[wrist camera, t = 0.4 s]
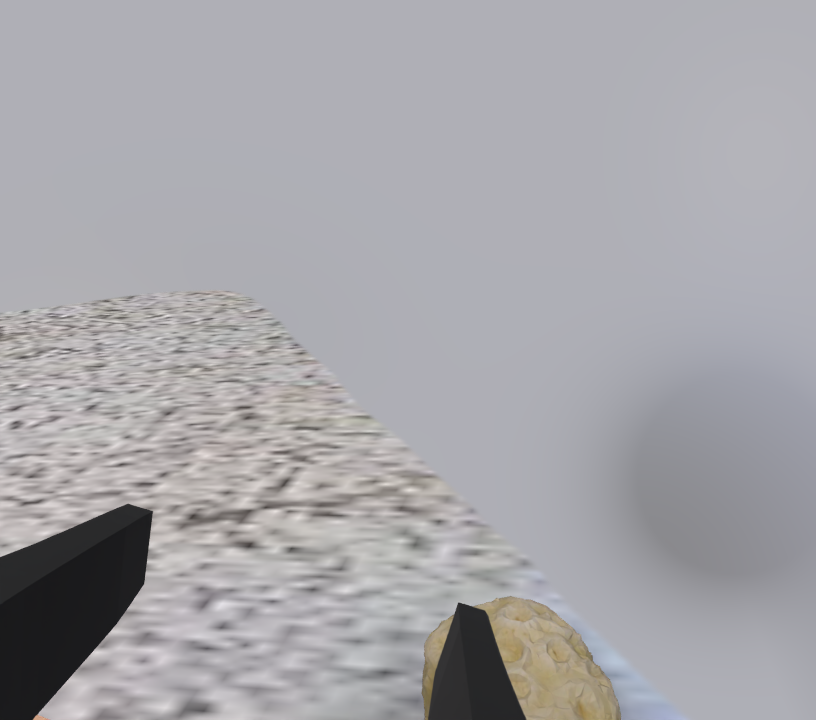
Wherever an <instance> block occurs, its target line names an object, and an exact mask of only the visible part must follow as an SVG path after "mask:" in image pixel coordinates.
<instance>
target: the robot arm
mask: <svg viewBox="0 0 816 720" xmlns="http://www.w3.org/2000/svg"><path fill="white" fill-rule="evenodd" d="M152 514H153V511H150V510H147V509H143V508H140V507H137V506H133V505H130V504H126V505H124V506H121V507H119V508H116V509H114V510H112V511H109V512H107V513H105V514H102V515H100V516H98V517H96V518H93V519H91V520H89V521H87V522H84V523H82V524H80V525H77V526H75V527H73V528H71V529H68V530H66V531H64V532H61V533H59V534H57V535H54V536H52V537H50V538H47V539H45V540H43V541H40V542H38V543H36V544H33V545H31V546H28V547H25V548H23V549H20V550H18V551H15V552H12V553H10V554H7V555H5V556H2V557H0V720H33V719H34V718H35V716H36V715H37V714H38V713H39V712H40V711H41V710H42V708H43V707H44V706H45V705H46V704H47V703H48V702H49V701H50V699H51V698H52V697H53V696H54V695H55V694H56V693H57V691H58V690H59V689H60V688H61V687H62V686H63V685H64V684H65V682H66V681H67V680H68V679H69V678H70V677H71V676H72V674H73V673H74V672H75V671H76V670H77V669H78V668H79V667H80V665H81V664H82V663H83V662H84V661H85V660H86V659H87V657H88V656H89V655H90V654H91V653H92V652H93V651H94V649H95V648H96V647H97V646H98V645H99V644H100V643H101V641H102V640H103V639H104V638H105V637H106V636H107V635H108V633H109V632H110V631H111V630H112V629H113V627H114V626H115V625H116V624H117V622H118V621H119V620H120V618H121V617H122V615H123V614H124V613H125V611H126V610H127V608H128V607H129V606H130V604H131V603H132V601H133V600H134V598H135V597H136V595H137V594H138V592H139V591H140V589H141V588H142V586H143V585H144V581H145V572H146V564H147V556H148V547H149V539H150V530H151V522H152ZM428 720H527V719H526V717H525V715H524V713H523V710H522V708H521V706H520V703H519V701H518V698H517V696H516V693H515V691H514V688H513V686H512V684H511V681H510V679H509V676H508V673H507V671H506V668H505V665H504V663H503V660H502V657H501V654H500V651H499V648H498V645H497V642H496V639H495V636H494V633H493V630H492V627H491V623H490V620H489V616H488V615H487V613H486V611H485V610H482V609H479V608H475V607H472V606H469V605H465V604H462V603H459V602H458V605H457V608H456V611H455V614H454V617H453V620H452V623H451V626H450V629H449V632H448V635H447V638H446V641H445V644H444V647H443V650H442V653H441V656H440V659H439V662H438V665H437V668H436V671H435V675H434V681H433V688H432V694H431V701H430V708H429V715H428Z"/></svg>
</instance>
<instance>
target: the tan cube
mask: <svg viewBox="0 0 816 720" xmlns="http://www.w3.org/2000/svg"><path fill="white" fill-rule="evenodd" d="M33 720H49V719H46V718H44V717H41V716H39V715H36V716H35V718H34V719H33Z"/></svg>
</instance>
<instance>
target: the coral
mask: <svg viewBox="0 0 816 720" xmlns="http://www.w3.org/2000/svg"><path fill="white" fill-rule="evenodd" d="M473 607H475V608H479V609H482V610H485V611H486V613H487V615H488V616H489V620H490V623H491V627H492V630H493V633H494V636H495V639H496V642H497V645H498V648H499V651H500V654H501V657H502V660H503V663H504V665H505V668H506V671H507V673H508V676H509V679H510V681H511V684H512V686H513V688H514V691H515V693H516V696H517V698H518V701H519V703H520V706H521V708H522V710H523V713H524V715H525V717H526V719H527V720H621V713H620V708H619V704H618V700H617V698H616V697H615V695H614V691H613V688H612V684H611V682H610V679H609V678H607V676H606V675H605V674H604V672H603V671H602V670H601V668H600V666H598V665H596V664H595V663H594V662H593V658H592V655H591V653H590V652H589V651H588V647H587V646H586V645H585V643H584V642H583V641H582V638H581V635H580V634H578V633H576V631H575V630H574V629H573V628H572V627H571V626H570V625H569V624H567V623H566V622H565V621H564V620H562V619H561V618H560V617H559V616H558V615H557V614H556V613H555V612H553V611H552V610H551V609H549V608H548V607H547V606H545V605H543V604H540V603H537V602H535V601H532V600H524V599H521V598H516V597H512V596H510V597H504V598H500V599H498V598H496V599H495V600H494V601H492V602H487V603H484V604H480V605H476V606H473ZM453 617H454V615H452V616H451V617H449V618H448V619H447V620H445V621H442V622H441V623H440V625H439V627H438V628H437V629H436V630H434V631H433V632H432V633H431V634H430V635H429V637H428V638H427V640H426V642H425V646H424V651H425V652H424V655H425V665H424V670H423V686H422V695H423V698H424V709H425V720H428V715H429V708H430V701H431V694H432V688H433V681H434V675H435V671H436V668H437V665H438V662H439V659H440V656H441V653H442V650H443V647H444V644H445V641H446V638H447V635H448V632H449V629H450V626H451V623H452V620H453Z"/></svg>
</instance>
